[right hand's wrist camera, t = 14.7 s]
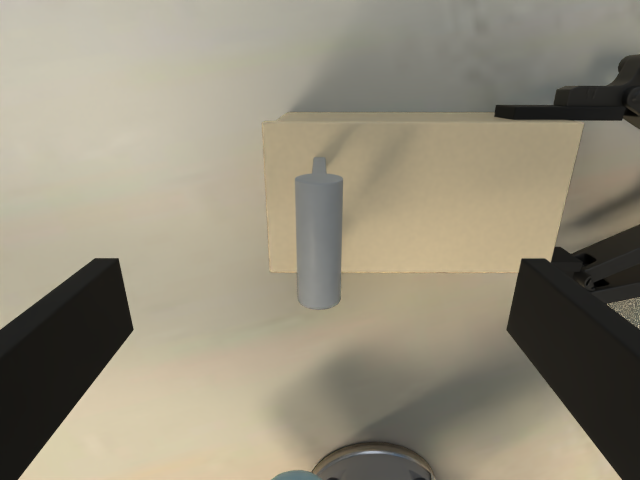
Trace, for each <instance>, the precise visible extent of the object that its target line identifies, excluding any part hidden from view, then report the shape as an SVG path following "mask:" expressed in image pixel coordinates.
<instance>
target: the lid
mask: <svg viewBox="0 0 640 480" xmlns="http://www.w3.org/2000/svg"><path fill="white" fill-rule="evenodd" d="M583 127H584V122H578V121H264V122H262V135H263V154H264V173H265V192H266V211H267V230H268V249H269V268H270V272H271V273H297V291H298V301H299V303H300V304H301V305H303V306H304V307H307V308H310V309H318V310H320V309H328V308H331V307H334V306H336V305H337V304H338V303H339V301H340V299H341V273H519V268H520V263H521V258H545V259H547V260H548V261H549V262H551V259H552V255H553V251H554V247H555V243H556V239H557V235H558V231H559V226H560V222H561V218H562V214H563V210H564V206H565V202H566V198H567V193H568V189H569V185H570V181H571V177H572V173H573V169H574V165H575V160H576V156H577V152H578V148H579V144H580V140H581V136H582V132H583Z"/></svg>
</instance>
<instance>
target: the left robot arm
mask: <svg viewBox="0 0 640 480" xmlns="http://www.w3.org/2000/svg"><path fill="white" fill-rule="evenodd" d="M618 72H619V74H618V76H617V77H616V79H615V80H614V81H613V82H612V83H611V84H609V85H606V86H565V87H562V88H559V89H557V90H556V95H555V100H554V104H553V105H496V108H495V114H494V117H499V118H505V119H511V120H618V121H622V119H625V120H626V121H628V122H629V123H631V124H632V125H634V126H635V127H637V128H638V129H640V54H639V55H630V56H627V57H625V58H623V59H622V60H621V62H620V63H619V66H618ZM551 263H552V264H553V265H554V266H556V267H557V268H558V269H560V270H561V271H562V272H564V273H565V274H566V275H568V276H569V277H570V278H572V279H573V280H574V281H576V282H577V283H578V284H580V285H581V286H582V287H584V288H585V289H586V290H588V291H589V292H590V293H592V294H593V295H594V296H596V297H597V298H598V299H600V300H601V301H602V302H604V303H605V304H607V303H612V302H617V301H622V300H627V299H631V298H636V297H640V225H638V226H635V227H633V228H631V229H628V230H626V231H624V232H621V233H619V234H617V235H614V236H612V237H610V238H607V239H605V240H603V241H600V242H598V243H596V244H593V245H591V246H589V247H586V248H584V249H582V250H579V251H577V252H575V253H572V254H570V253H568V252H567V251H565V250H564V249H562V248H561V247H554V251H553V255H552V259H551ZM272 480H436V479H435V476H434V473H433V471H432V469H431V467H430V466H429V464H428V463H427V462H426V461H425V460H424V459H423V458H422V457H421V456H419V455H418V454H416V453H415V452H413V451H411V450H409V449H407V448H404V447H401V446H398V445H394V444H389V443H380V442H369V443H360V444H355V445H351V446H347V447H344V448H342V449H339V450H337V451H335V452H333V453H331V454H330V455H328V456H327V457H325V458H324V459H323V460H322V461H321V462H320V463H319V464H318V465H317V466H316V467H315V468H314V470H313V471H312V473H311V472H308V471H303V470H293V471H288V472H284V473H281V474H279V475H277V476H276V477H275V478H273V479H272Z"/></svg>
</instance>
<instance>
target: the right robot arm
mask: <svg viewBox="0 0 640 480" xmlns="http://www.w3.org/2000/svg"><path fill="white" fill-rule="evenodd" d="M132 331H133V325H132V320H131V315H130V311H129V306H128V301H127V296H126V292H125V287H124V282H123V277H122V273H121V268H120V263H119V258H95V259H93V260H92V261H91V262H89V263H88V264H87V265H86V266H84V267H83V268H82V269H80V270H79V271H78V272H76V273H75V274H74V275H72V276H71V277H70V278H68V279H67V280H66V281H64V282H63V283H62V284H60V285H59V286H58V287H56V288H55V289H54V290H52V291H51V292H50V293H48V294H47V295H46V296H44V297H43V298H42V299H40V300H39V301H38V302H36V303H35V304H34V305H33V306H31V307H30V308H29V309H27V310H26V311H25V312H23V313H22V314H21V315H19V316H18V317H17V318H15V319H14V320H13V321H11V322H10V323H9V324H7V325H6V326H5V327H3V328H2V329H1V330H0V480H18V479H19V477H20V476H21V475H22V474H23V472H24V471H25V470H26V468H27V467H28V466H29V465H30V463H31V462H32V461H33V459H34V458H35V457H36V455H37V454H38V453H39V452H40V450H41V449H42V448H43V446H44V445H45V444H46V443H47V441H48V440H49V439H50V437H51V436H52V435H53V433H54V432H55V431H56V430H57V428H58V427H59V426H60V424H61V423H62V422H63V421H64V419H65V418H66V417H67V415H68V414H69V413H70V411H71V410H72V409H73V408H74V406H75V405H76V404H77V402H78V401H79V400H80V399H81V397H82V396H83V395H84V393H85V392H86V391H87V389H88V388H89V387H90V386H91V384H92V383H93V382H94V380H95V379H96V378H97V377H98V375H99V374H100V373H101V371H102V370H103V369H104V367H105V366H106V365H107V364H108V362H109V361H110V360H111V358H112V357H113V356H114V355H115V353H116V352H117V351H118V349H119V348H120V347H121V345H122V344H123V343H124V342H125V340H126V339H127V338H128V336H129V335H130V334H131V333H132ZM507 331H508V333H509V334H510V335H511V336H512V338H513V339H514V340H515V342H516V343H517V344H518V345H519V347H520V348H521V349H522V351H523V352H524V353H525V355H526V356H527V357H528V358H529V360H530V361H531V362H532V364H533V365H534V366H535V367H536V369H537V370H538V371H539V373H540V374H541V375H542V377H543V378H544V379H545V380H546V382H547V383H548V384H549V386H550V387H551V388H552V389H553V391H554V392H555V393H556V395H557V396H558V397H559V399H560V400H561V401H562V402H563V404H564V405H565V406H566V408H567V409H568V410H569V411H570V413H571V414H572V415H573V417H574V418H575V419H576V421H577V422H578V423H579V424H580V426H581V427H582V428H583V430H584V431H585V432H586V433H587V435H588V436H589V437H590V439H591V440H592V441H593V443H594V444H595V445H596V446H597V448H598V449H599V450H600V452H601V453H602V454H603V455H604V457H605V458H606V459H607V461H608V462H609V463H610V465H611V466H612V467H613V468H614V470H615V471H616V472H617V474H618V475H619V476H620V477H621V479H622V480H640V330H639V329H638V328H637V327H635V326H634V325H633V324H631V323H630V322H629V321H627V320H626V319H625V318H623V317H622V316H621V315H619V314H618V313H617V312H615V311H614V310H613V309H611V308H610V307H609V306H607V305H606V304H605V303H604V302H602V301H601V300H600V299H598V298H597V297H596V296H594V295H593V294H592V293H590V292H589V291H588V290H586V289H585V288H584V287H582V286H581V285H580V284H578V283H577V282H576V281H574V280H573V279H572V278H570V277H569V276H568V275H566V274H565V273H564V272H562V271H561V270H560V269H558V268H557V267H556V266H554V265H553V264H552V263H551V262H549V261H548V260H547V259H545V258H521V263H520V268H519V273H518V277H517V282H516V287H515V292H514V296H513V301H512V306H511V311H510V315H509V320H508V325H507Z"/></svg>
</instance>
